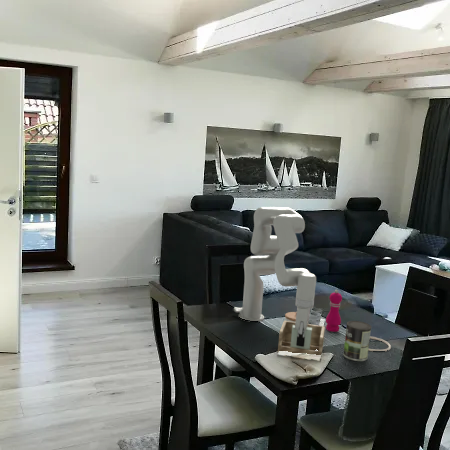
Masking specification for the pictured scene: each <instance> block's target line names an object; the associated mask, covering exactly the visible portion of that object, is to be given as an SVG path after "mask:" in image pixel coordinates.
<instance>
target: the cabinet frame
mask: <svg viewBox="0 0 450 450" xmlns="http://www.w3.org/2000/svg"><path fill="white" fill-rule="evenodd" d="M293 325H295V322H290V321H285V320H283V322H282V325H281V327H280V330H279V334H278V344H277V345H278V346H277V352H278V351H288V352H292V353H307V354H316V355H321V354H322V355H323V349H324V339H325V333H326V332H325V330H326V325H325V326H323V325H317V324H309V323H308V326H307V327H310V328H312V333H311V343H310V350H307V349H301V348H294V347H290V346H291V335H292V327H293ZM316 349H317V350H318V351H315V350H316Z"/></svg>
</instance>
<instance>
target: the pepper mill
mask: <svg viewBox="0 0 450 450" xmlns="http://www.w3.org/2000/svg"><path fill="white" fill-rule="evenodd" d="M328 299H329V301H330V302H329V306H330V309H329V312H328V314H327V316H326V318H325V323H326V325H325V330H326V331H328V332H332V333H334V332H335V333H336V332H339V331H340V325H341V323H342V318H341V315H340V312H339V310H340V307H341V302H342V301H343V296H342V295H341V293H339V290H338V289H335V290H334V292H331V293H330V295H329V298H328Z"/></svg>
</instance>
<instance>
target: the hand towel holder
mask: <svg viewBox="0 0 450 450" xmlns="http://www.w3.org/2000/svg"><path fill="white" fill-rule="evenodd" d="M370 340H376V341H378V342H381V341H382V342H381V343H383V344H386V345H387V346H388V347H387V348H385V349H384V348H383V349H374V348H373V349H372V348H368V352H373V351H385V352H388V351H390V350H391V348H392V345H391V344H390V343H389V342H388V341H386V340H384V339H382V338H379V337H376V336H370ZM387 350H388V351H387Z"/></svg>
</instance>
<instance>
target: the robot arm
mask: <svg viewBox="0 0 450 450" xmlns="http://www.w3.org/2000/svg"><path fill="white" fill-rule="evenodd" d="M305 223H306V221H305V220H304V217H302V215H301V214H299V213H298V212H296V211H295V210H294V209H292V208H291V207H284V206H283V207H282V206H281V207H280V206H278V207H277V206H261V207H258V208H256V209H255V210H254V213H253V224H254V225H253V226H254V227H253V232H252V235H251V236H252V237H251V243H250V252H251V253H252V254H253V255H250V256H248V257H246V258H245V259H244V260H243V261H244V262H243V269H244V284H243V298H242V299H243V300H242V307H236V306H234V308H233V311H234V312H235V313H239V314H238V318H239V317H240V318H242V319H245V320H250V321H258V322H262V321H263V320H265V316H264V314H262V311H263V310H262V308H263V298H264V296H263V295H264V287H265V286H264V282H263V279H262V278H261V276H266V275H267V276H270V275H276V279H277V281H278V283H279V285H280V286H282V287H296V294H295V303H294V305H295V306H296V307H297V308H296V312H297V313H296V322H295V330H298V336H297V342H296V345H297V346H302V347H304V341H305V337H304V334H305V331H306V330H307V326H308V324H309V322H310V316H311V315H310V314H311V309H313V308H314V304H315V297H316V296H315V295H316V294H315V293H316V285H317V276H316V275H315V274H314V273H311V272H310V270H308V269H306V268H305V267H304V268H303V267H300V268H297V267H296V268H293V267H292V268H286V266H285V261H284V260H285V256H286V255H287V256H288V254H291V253H293V252H294V251H296V250H298V248H299V242H298V241H299V240H298V237H297V234H301V233H303V232H304V230H305V228H306V224H305ZM272 226H273V228H274V233H275V235H272V230H273V228H272ZM240 318H239V319H240ZM242 319H241V320H242ZM245 320H244V321H245ZM250 321H249V322H250ZM303 329H304V330H303ZM302 332H303V333H302Z"/></svg>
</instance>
